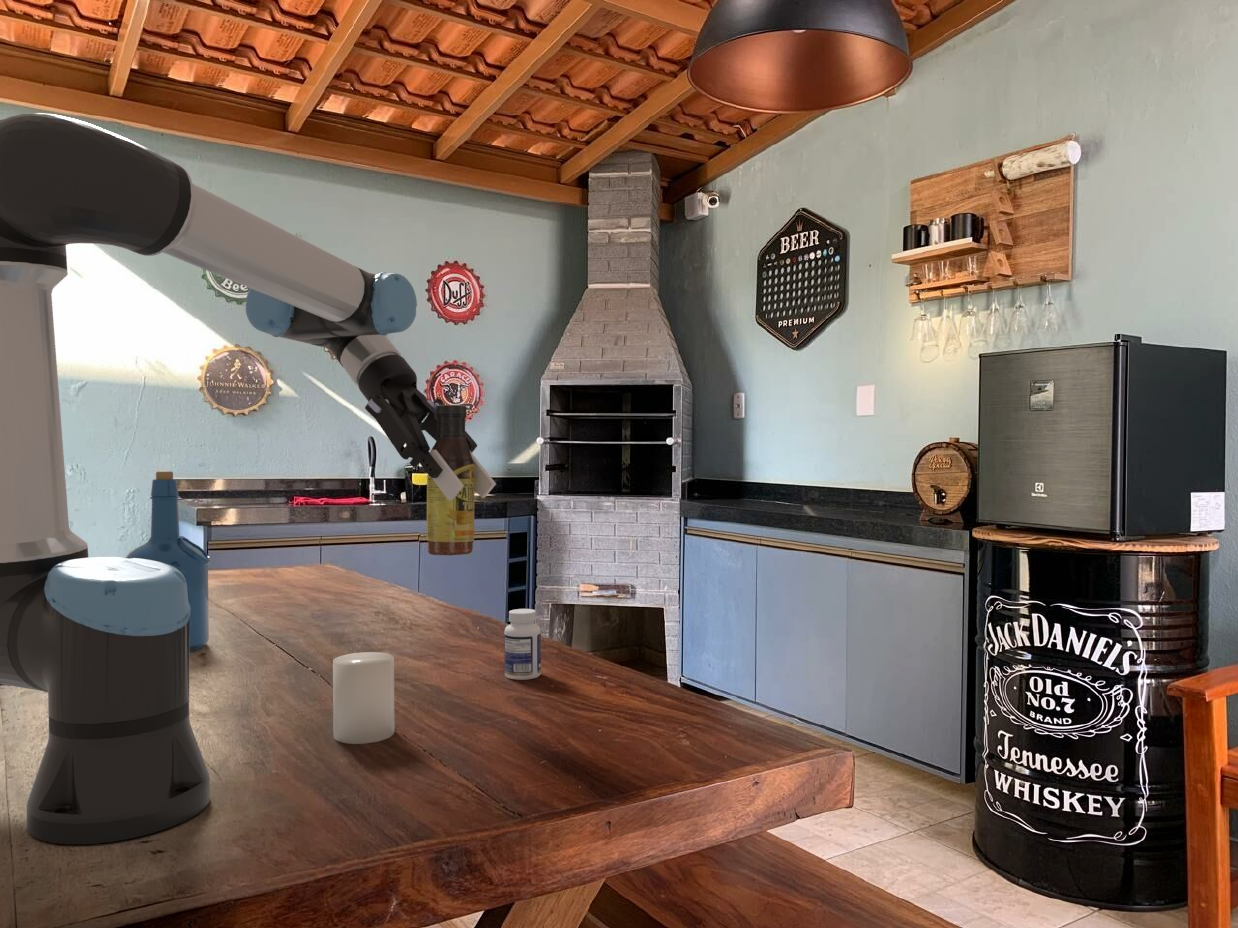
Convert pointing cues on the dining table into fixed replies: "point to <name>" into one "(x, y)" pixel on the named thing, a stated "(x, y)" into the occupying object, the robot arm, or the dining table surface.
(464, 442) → the sauce bottle
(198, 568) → the wine bottle
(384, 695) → the white rounded cylinder
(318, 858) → the dining table surface
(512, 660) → the pill bottle
